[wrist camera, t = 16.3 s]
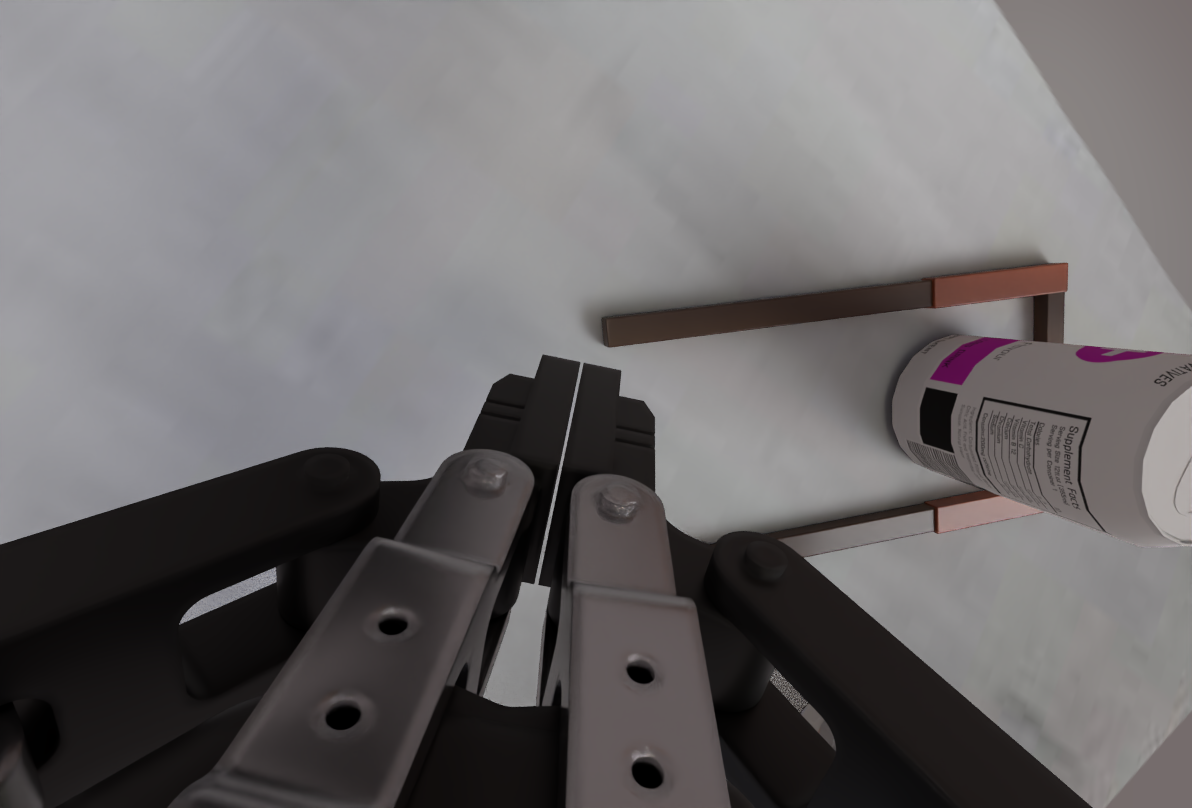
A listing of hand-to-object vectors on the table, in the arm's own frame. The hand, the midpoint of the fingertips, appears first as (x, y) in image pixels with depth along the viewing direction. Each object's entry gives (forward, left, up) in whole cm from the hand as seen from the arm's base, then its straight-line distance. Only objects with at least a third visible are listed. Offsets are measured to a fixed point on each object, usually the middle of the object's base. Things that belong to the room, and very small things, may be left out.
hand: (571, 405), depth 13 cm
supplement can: (+7, +26, -23) cm, 36 cm away
